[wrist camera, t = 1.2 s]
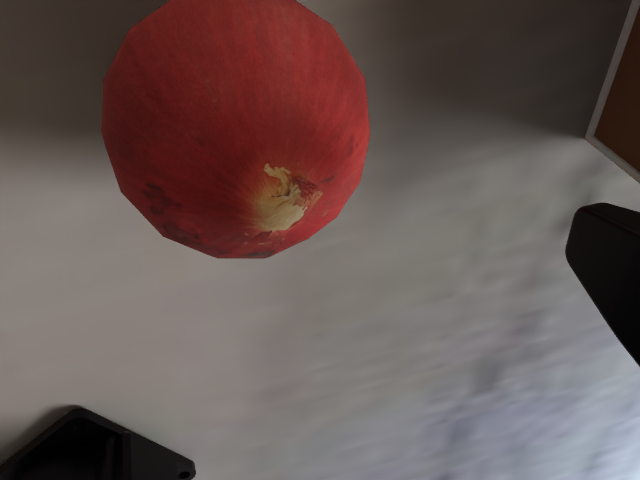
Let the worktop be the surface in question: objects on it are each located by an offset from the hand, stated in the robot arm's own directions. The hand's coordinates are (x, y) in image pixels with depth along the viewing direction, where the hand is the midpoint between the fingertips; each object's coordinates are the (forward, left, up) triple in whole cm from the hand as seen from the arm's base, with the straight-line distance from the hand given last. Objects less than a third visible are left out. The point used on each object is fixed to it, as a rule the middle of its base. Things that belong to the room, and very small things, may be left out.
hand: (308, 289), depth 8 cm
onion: (0, 0, -10) cm, 10 cm away
